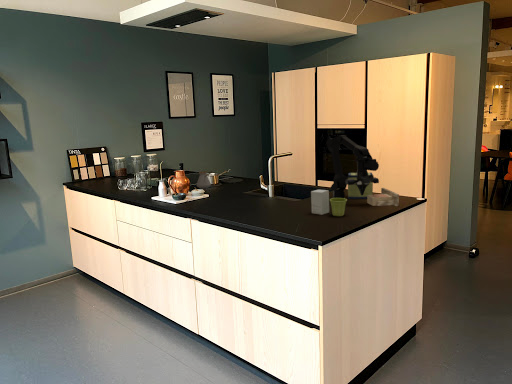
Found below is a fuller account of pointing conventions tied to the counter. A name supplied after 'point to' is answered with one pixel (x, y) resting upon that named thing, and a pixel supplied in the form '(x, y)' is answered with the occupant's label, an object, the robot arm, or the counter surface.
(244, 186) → the counter surface
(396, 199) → the display nook
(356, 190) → the protein box
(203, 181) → the coffee pot
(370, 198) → the beige rectangular block
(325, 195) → the supplement box
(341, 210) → the plant pot
